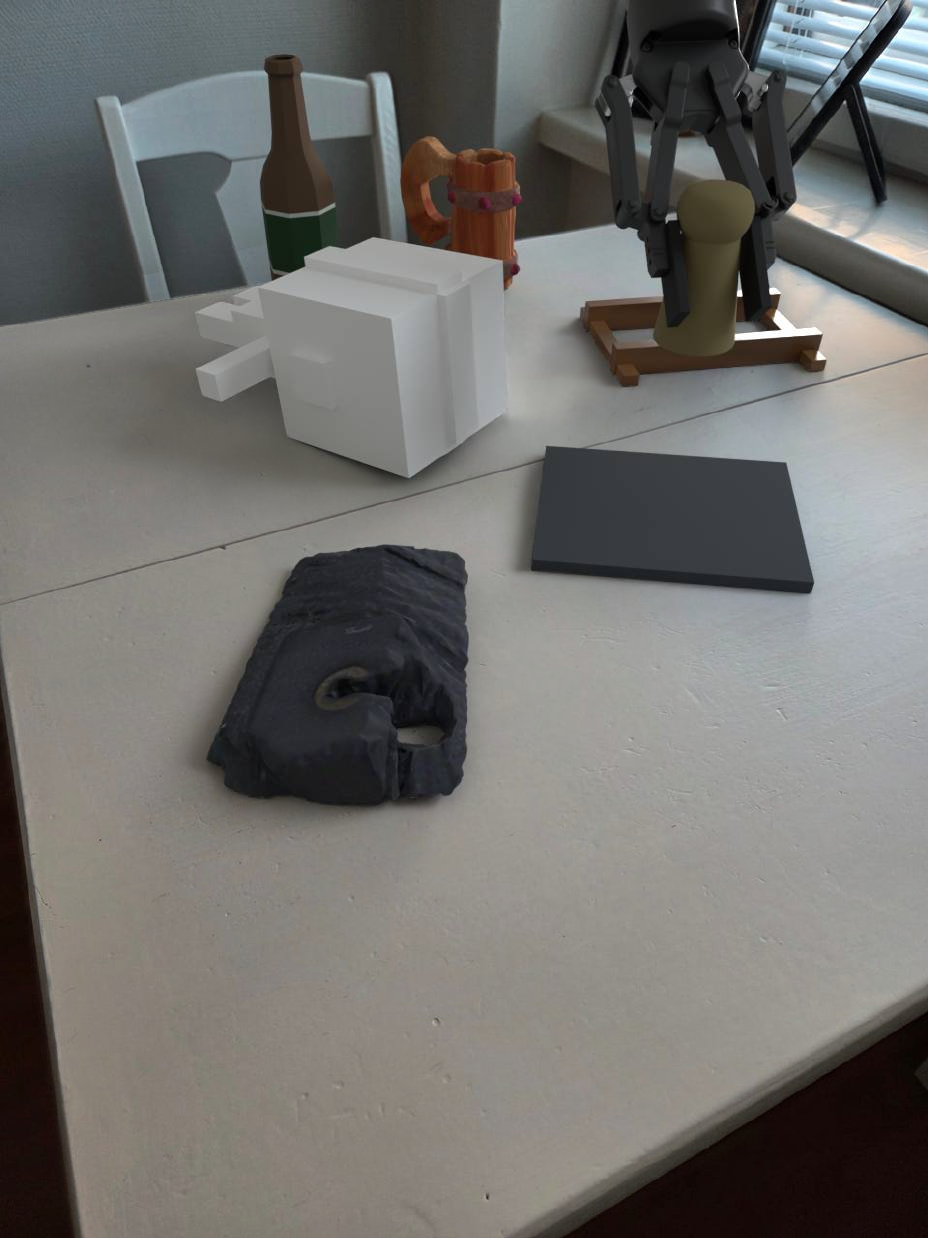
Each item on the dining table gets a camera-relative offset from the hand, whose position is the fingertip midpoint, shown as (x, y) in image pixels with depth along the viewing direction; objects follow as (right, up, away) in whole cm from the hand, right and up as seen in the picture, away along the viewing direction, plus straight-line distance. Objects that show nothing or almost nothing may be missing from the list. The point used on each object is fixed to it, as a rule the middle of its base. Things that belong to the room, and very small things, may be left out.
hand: (718, 316), depth 66 cm
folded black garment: (-24, -25, -5) cm, 35 cm away
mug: (-18, +17, +43) cm, 50 cm away
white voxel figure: (-29, -2, +22) cm, 36 cm away
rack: (+6, +7, +32) cm, 33 cm away
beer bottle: (-35, +13, +39) cm, 54 cm away
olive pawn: (-1, 0, +5) cm, 5 cm away
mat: (-2, -13, +8) cm, 16 cm away
